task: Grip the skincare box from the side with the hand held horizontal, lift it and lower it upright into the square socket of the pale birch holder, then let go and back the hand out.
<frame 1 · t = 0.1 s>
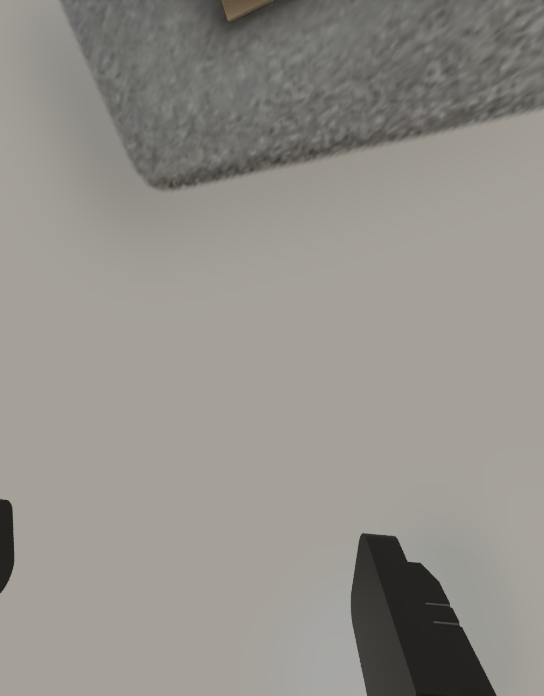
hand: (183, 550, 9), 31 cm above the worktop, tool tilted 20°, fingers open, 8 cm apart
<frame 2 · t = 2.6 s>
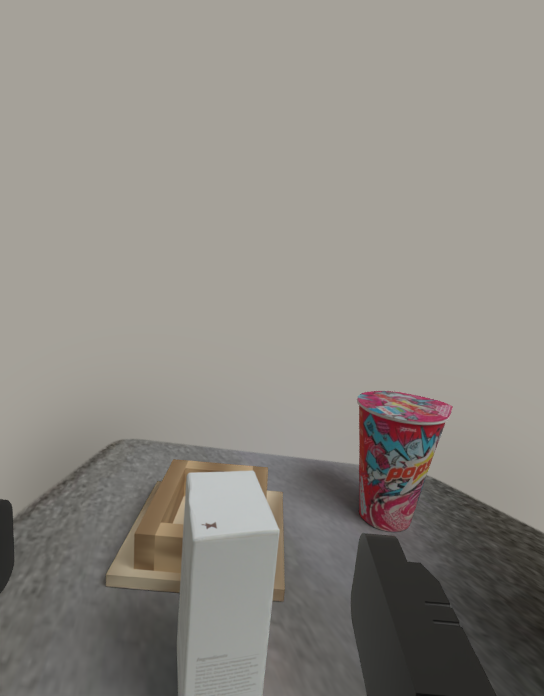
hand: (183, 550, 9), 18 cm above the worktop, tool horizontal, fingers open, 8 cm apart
skincare box: (214, 686, 24), on the worktop
cup: (386, 516, 42), on the worktop
socket holder: (209, 536, 36), on the worktop
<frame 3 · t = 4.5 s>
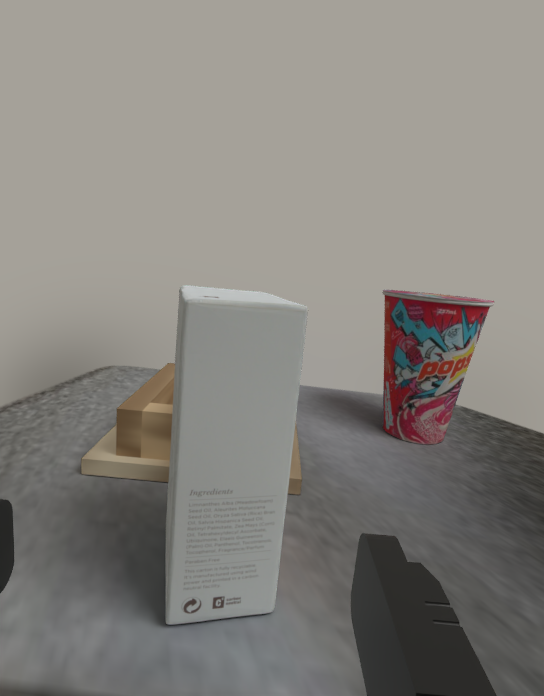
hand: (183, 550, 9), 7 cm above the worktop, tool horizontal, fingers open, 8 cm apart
skincare box: (214, 568, 18), on the worktop
cup: (414, 432, 36), on the worktop
socket holder: (209, 438, 31), on the worktop
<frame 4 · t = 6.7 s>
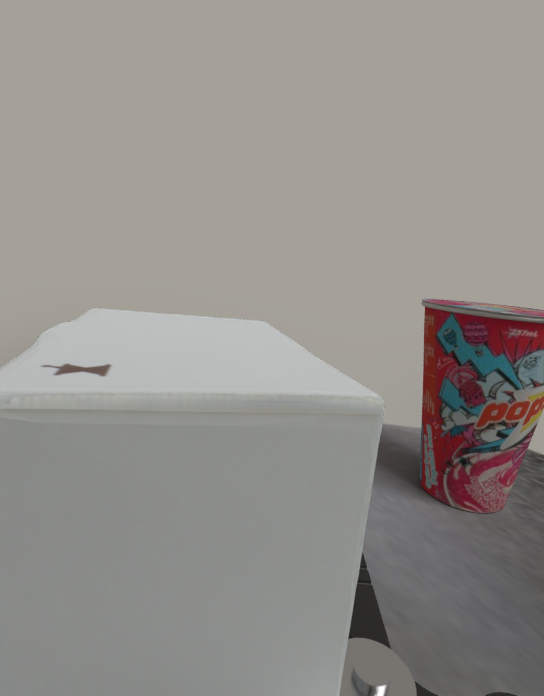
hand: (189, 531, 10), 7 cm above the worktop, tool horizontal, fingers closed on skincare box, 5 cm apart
cup: (463, 490, 27), on the worktop
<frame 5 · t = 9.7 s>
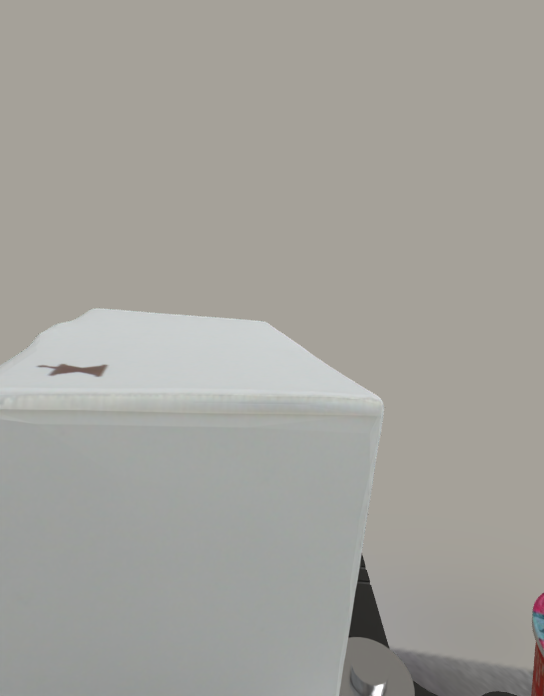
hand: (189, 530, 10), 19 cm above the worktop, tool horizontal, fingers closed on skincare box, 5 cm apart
when the fingers open (9 cm above the worktop, at t = 12.5 s): skincare box drops 2 cm, resting on socket holder.
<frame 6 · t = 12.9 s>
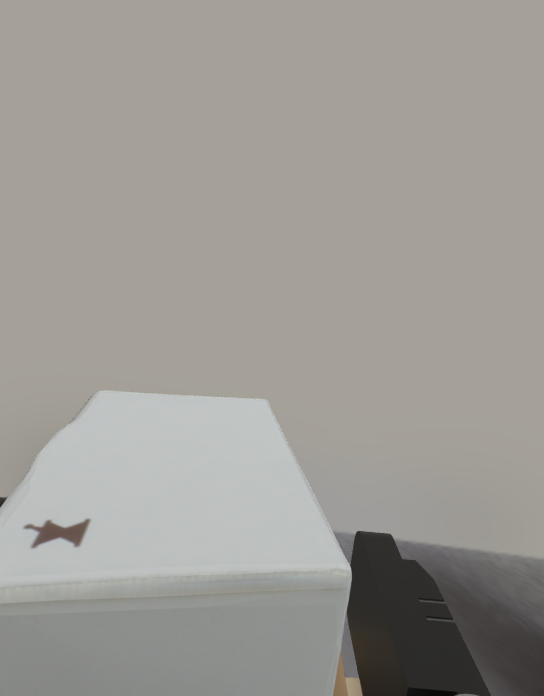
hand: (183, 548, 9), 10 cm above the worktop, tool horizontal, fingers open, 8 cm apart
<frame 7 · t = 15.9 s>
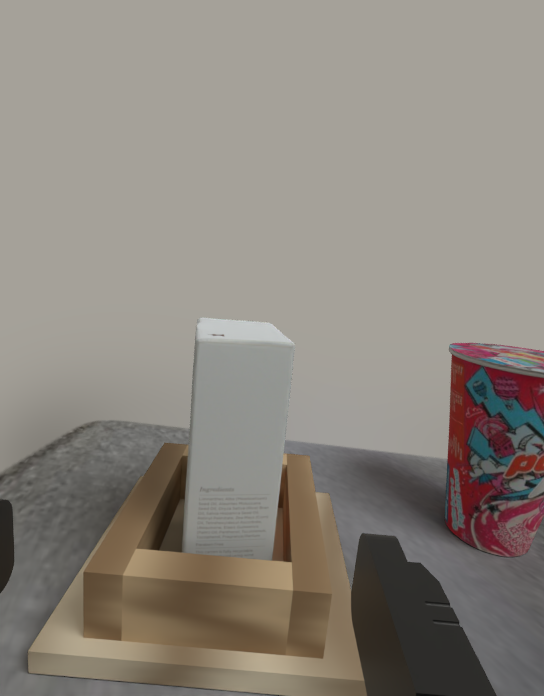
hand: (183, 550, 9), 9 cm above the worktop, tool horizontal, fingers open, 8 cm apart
skincare box: (222, 554, 22), point 1 cm above the worktop, touching socket holder
cup: (487, 530, 28), on the worktop
socket holder: (221, 565, 22), on the worktop
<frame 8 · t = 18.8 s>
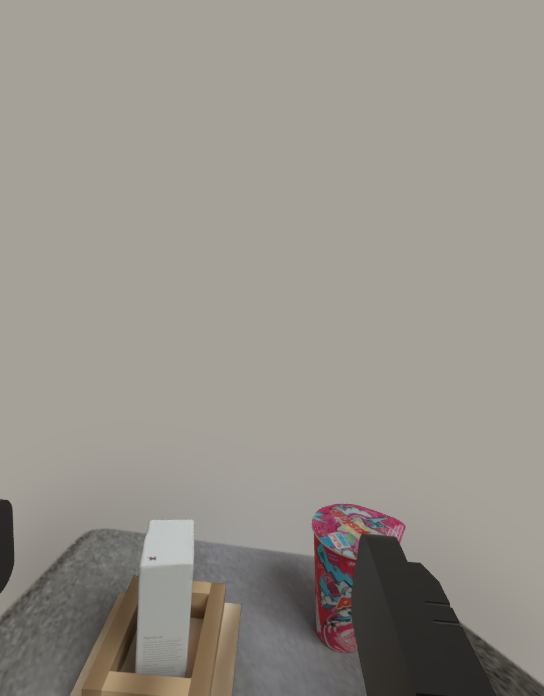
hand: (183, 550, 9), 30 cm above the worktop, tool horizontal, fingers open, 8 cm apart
skincare box: (163, 659, 37), point 1 cm above the worktop, touching socket holder
cup: (342, 629, 43), on the worktop
socket holder: (163, 664, 37), on the worktop
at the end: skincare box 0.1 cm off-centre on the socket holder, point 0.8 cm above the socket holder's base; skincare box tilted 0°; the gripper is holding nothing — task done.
